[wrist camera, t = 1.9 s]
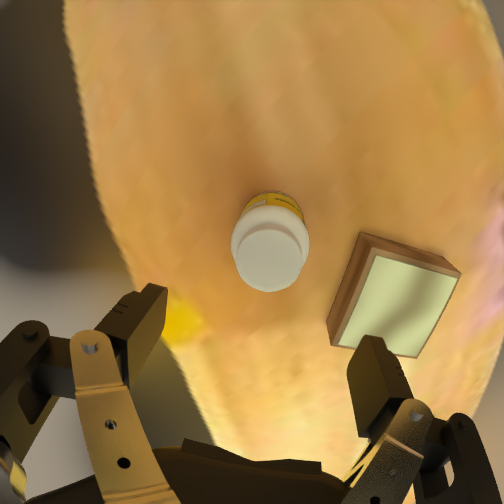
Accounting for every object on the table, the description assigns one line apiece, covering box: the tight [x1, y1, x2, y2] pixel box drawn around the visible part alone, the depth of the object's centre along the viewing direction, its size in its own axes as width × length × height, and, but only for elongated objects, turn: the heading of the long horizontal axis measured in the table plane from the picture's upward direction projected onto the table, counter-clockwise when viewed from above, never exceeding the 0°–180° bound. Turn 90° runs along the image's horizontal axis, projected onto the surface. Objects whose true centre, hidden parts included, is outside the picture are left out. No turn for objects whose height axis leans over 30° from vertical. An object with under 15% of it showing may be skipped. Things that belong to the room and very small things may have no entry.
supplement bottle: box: [231, 191, 310, 292], centre depth 22 cm, size 5×5×10 cm
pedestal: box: [326, 232, 462, 359], centre depth 26 cm, size 10×10×4 cm
